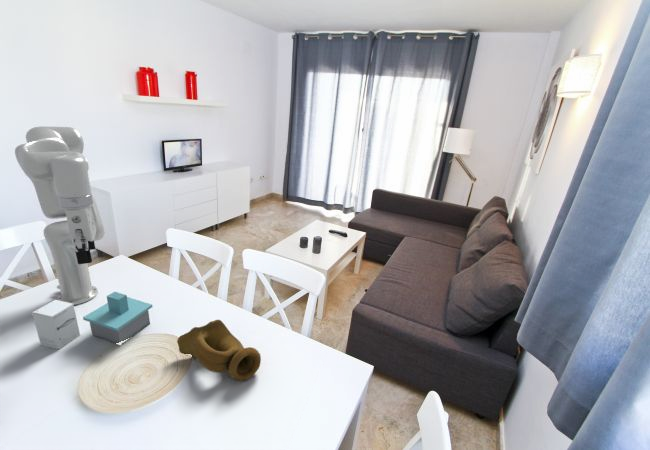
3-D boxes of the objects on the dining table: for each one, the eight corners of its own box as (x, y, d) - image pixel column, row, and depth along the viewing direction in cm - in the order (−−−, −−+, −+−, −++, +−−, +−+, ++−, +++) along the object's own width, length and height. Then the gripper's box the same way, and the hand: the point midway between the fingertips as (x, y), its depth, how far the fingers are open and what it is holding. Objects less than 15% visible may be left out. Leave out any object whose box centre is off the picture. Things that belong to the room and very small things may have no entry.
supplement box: (59, 350, 97) (50, 317, 93) (39, 345, 99) (30, 312, 94) (81, 334, 104) (74, 303, 100) (62, 330, 105) (54, 298, 101)
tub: (92, 335, 104) (88, 318, 102) (123, 315, 115) (121, 299, 113) (120, 345, 101) (117, 328, 99) (150, 323, 112) (148, 307, 110)
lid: (84, 323, 102) (79, 301, 99) (122, 300, 114) (118, 280, 111) (117, 335, 98) (113, 312, 95) (152, 310, 111) (150, 290, 108)
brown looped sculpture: (235, 312, 111) (267, 338, 95) (227, 347, 112) (259, 379, 96) (182, 315, 99) (209, 346, 83) (174, 355, 99) (199, 393, 83)
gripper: (89, 208, 82) (100, 266, 87) (95, 192, 95) (104, 243, 101) (52, 211, 78) (66, 271, 84) (64, 194, 92) (75, 246, 98)
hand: (87, 256), depth 92 cm, fingers open, 9 cm apart
